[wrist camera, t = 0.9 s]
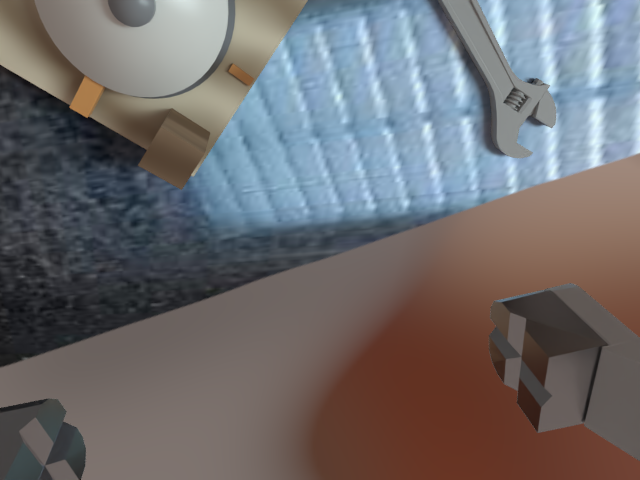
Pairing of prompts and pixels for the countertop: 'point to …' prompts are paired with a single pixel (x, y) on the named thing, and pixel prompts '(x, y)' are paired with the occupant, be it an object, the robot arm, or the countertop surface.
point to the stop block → (176, 149)
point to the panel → (150, 112)
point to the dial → (135, 43)
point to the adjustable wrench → (499, 79)
